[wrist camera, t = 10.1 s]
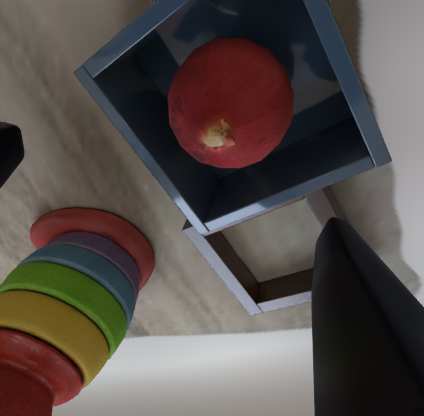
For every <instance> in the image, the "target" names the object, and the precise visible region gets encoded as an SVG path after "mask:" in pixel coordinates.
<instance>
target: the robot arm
mask: <svg viewBox="0 0 424 416" xmlns="http://www.w3.org/2000/svg"><path fill="white" fill-rule="evenodd" d="M23 158H24V146H23V140H22V134H21V130H20V128H19V127H18V126H16V125H13V124H10V123H6V122H0V188H1V187H2V186H3V184H4V183H5V182H6V181H7V179H8V178H9V177H10V175H11V174H12V173H13V172H14V170H15V169H16V168H17V166H18V165H19V164H20V163H21V161H22V160H23ZM311 305H312V337H313V371H314V404H315V416H424V307H423V306H422V305H421V304H420V302H419V301H418V300H417V299H416V298H415V297H414V296H413V295H412V294H411V292H410V291H409V290H408V289H407V288H406V287H405V286H404V285H403V283H402V282H401V281H400V280H399V279H398V278H397V277H396V276H395V275H394V273H393V272H392V271H391V270H390V269H389V268H388V267H387V266H386V264H385V263H384V262H383V261H382V260H381V259H380V258H379V257H378V256H377V254H376V253H375V252H374V251H373V250H372V249H371V248H370V247H369V245H368V244H367V243H366V242H365V241H364V240H363V239H362V238H361V237H360V235H359V234H358V233H357V232H356V231H355V230H354V229H353V228H352V226H351V225H350V224H349V223H348V222H347V221H346V220H343V219H339V218H336V217H331V218H330V219H329V220H328V221H327V223H326V225H325V227H324V228H323V230H322V232H321V234H320V236H319V238H318V240H317V243H316V249H315V259H314V269H313V279H312V291H311Z"/></svg>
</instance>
